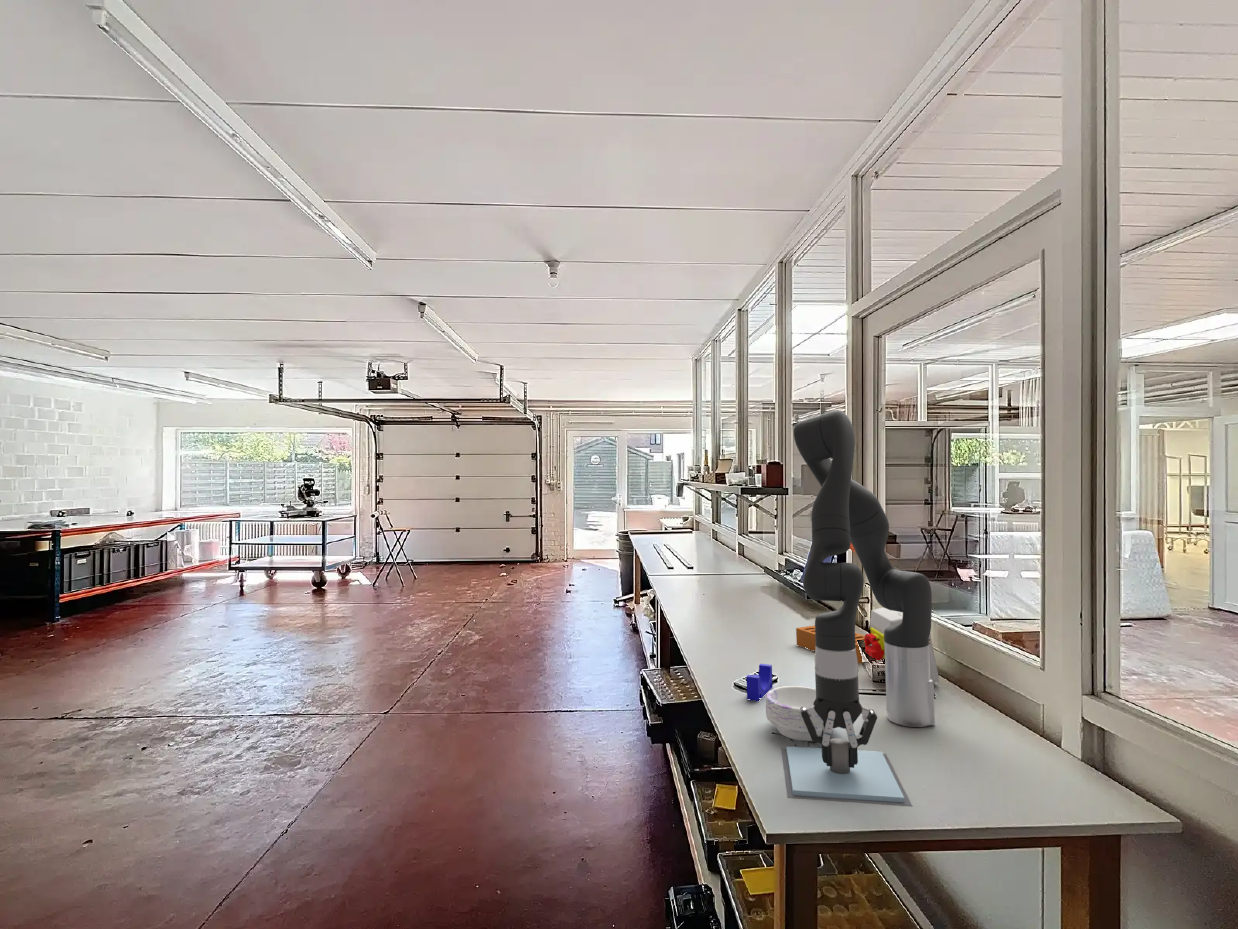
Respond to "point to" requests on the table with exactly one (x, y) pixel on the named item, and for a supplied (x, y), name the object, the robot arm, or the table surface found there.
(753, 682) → the cable clip
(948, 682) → the table surface
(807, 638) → the brick
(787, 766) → the mat
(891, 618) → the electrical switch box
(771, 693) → the paper bowls
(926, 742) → the table surface
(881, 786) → the sheet
